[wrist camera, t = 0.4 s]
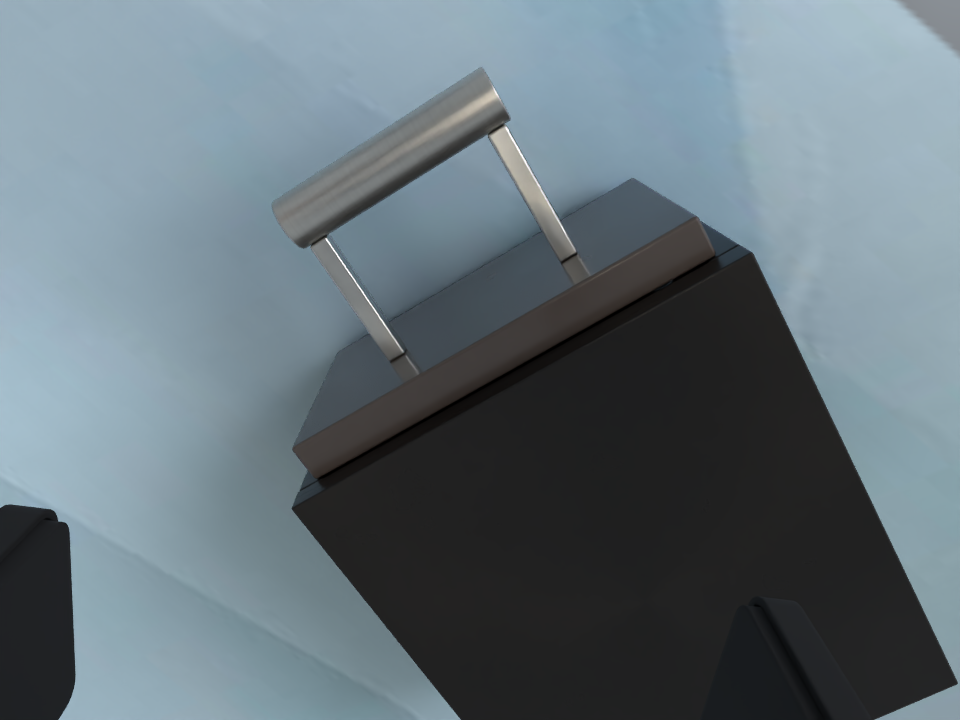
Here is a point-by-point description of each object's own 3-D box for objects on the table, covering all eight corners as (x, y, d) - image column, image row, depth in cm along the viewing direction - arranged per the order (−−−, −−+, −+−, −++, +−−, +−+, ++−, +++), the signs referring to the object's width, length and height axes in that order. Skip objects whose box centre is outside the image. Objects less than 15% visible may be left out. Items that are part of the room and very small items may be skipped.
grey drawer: (242, 221, 27) (155, 276, 19) (553, 21, 24) (589, -5, 17) (527, 619, 33) (544, 776, 25) (794, 487, 31) (897, 618, 23)
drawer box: (345, 375, 30) (290, 508, 20) (657, 193, 27) (752, 251, 18) (540, 646, 35) (566, 852, 25) (819, 512, 32) (959, 684, 23)
